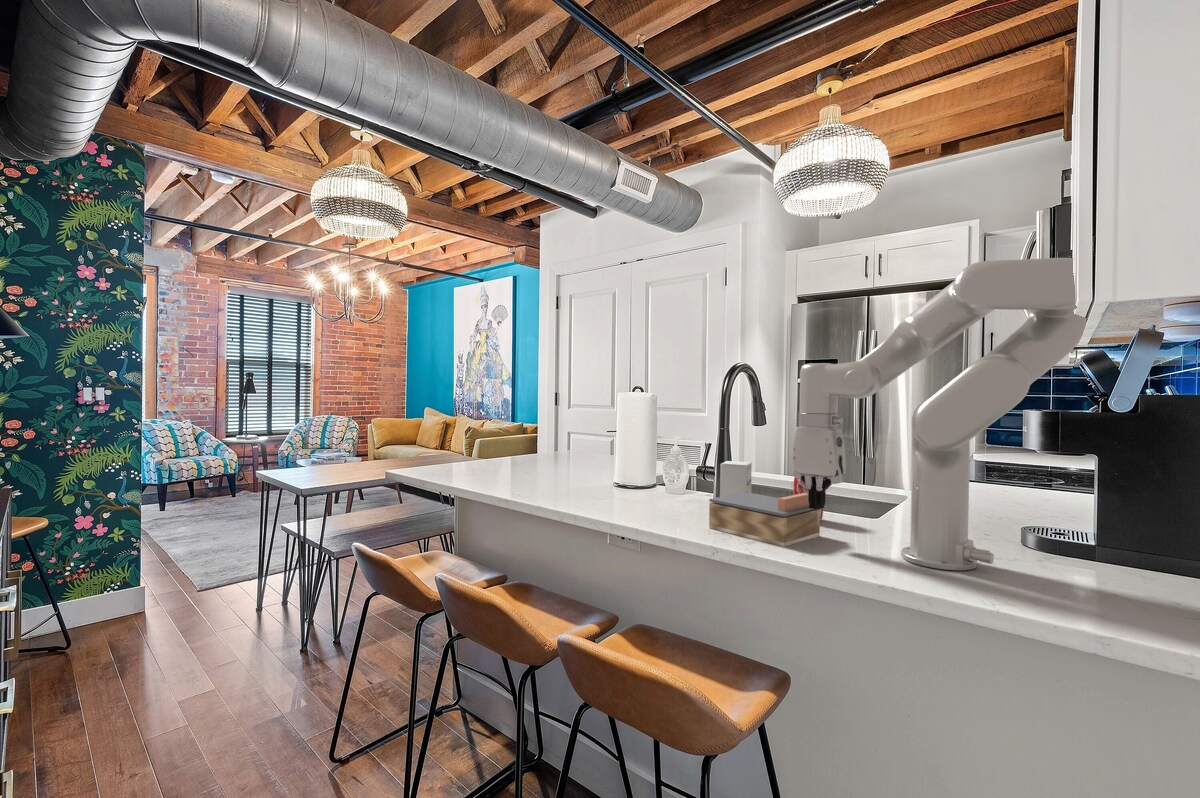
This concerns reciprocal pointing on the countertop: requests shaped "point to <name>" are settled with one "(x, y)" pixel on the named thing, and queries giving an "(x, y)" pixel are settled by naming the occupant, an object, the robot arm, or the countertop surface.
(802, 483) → the soda can
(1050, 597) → the countertop surface
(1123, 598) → the countertop surface
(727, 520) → the wooden box
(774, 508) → the lid
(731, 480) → the supplement box
